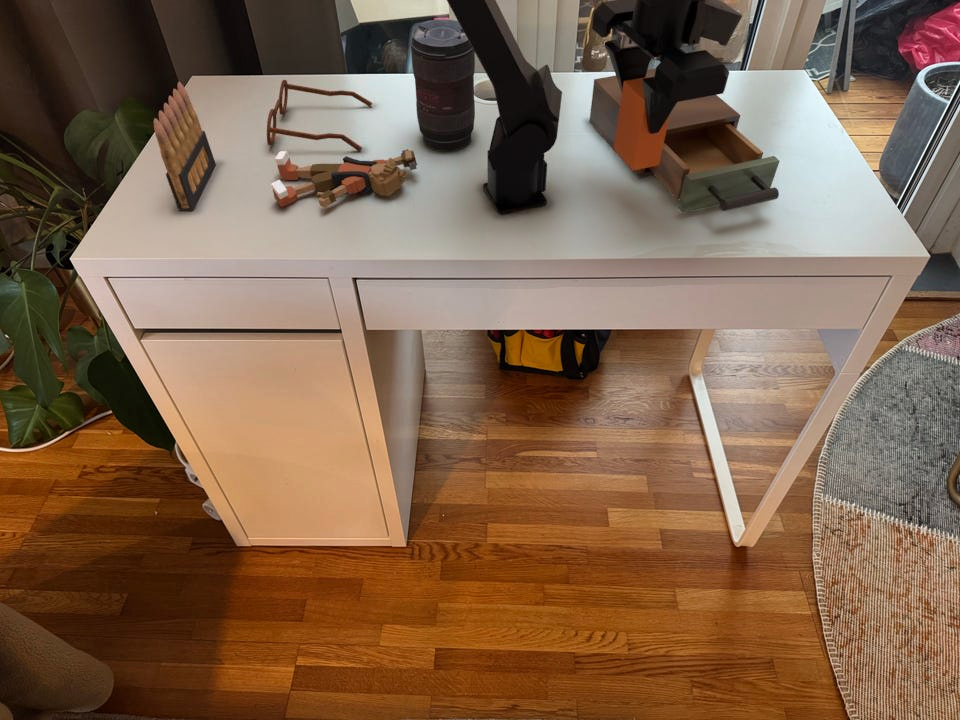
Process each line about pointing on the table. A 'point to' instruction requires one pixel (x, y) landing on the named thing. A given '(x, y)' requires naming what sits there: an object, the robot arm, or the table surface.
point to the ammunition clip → (184, 149)
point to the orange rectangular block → (637, 129)
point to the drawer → (715, 169)
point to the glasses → (299, 134)
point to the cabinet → (680, 118)
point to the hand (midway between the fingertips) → (642, 121)
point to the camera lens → (443, 84)
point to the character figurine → (342, 177)
